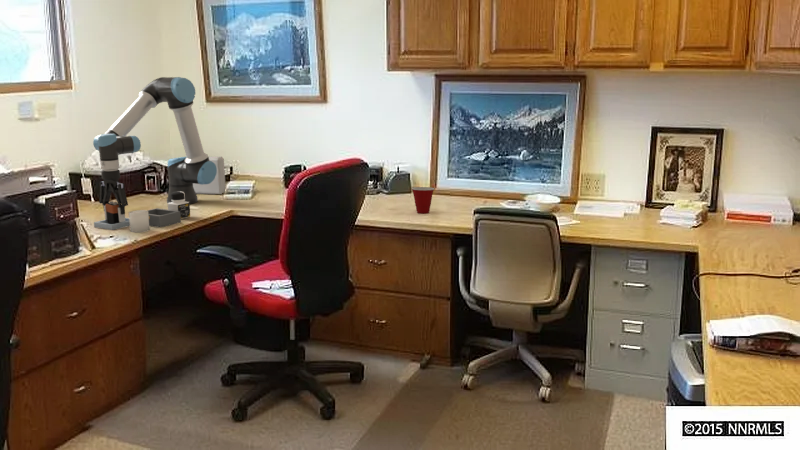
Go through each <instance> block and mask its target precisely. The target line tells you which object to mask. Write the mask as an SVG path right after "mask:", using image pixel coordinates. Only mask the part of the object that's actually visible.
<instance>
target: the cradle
mask: <svg viewBox="0 0 800 450" xmlns="http://www.w3.org/2000/svg"><path fill="white" fill-rule="evenodd" d="M146 211H148V215H149V226H150V227H154V228H163V227H168V226H172V225H175V224H179V223H182V219H181V214H180V211H174V210H168V208H167V209H165V208H159V207H158V208H157V207H156V208H152V209H149V210H148V209H147V210H146Z"/></svg>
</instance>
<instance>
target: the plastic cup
mask: <svg viewBox="0 0 800 450" xmlns="http://www.w3.org/2000/svg"><path fill="white" fill-rule="evenodd" d="M411 190H412V194H413V199H414V203H415V204H414V206H415V210H416V213H417V214H422V215H423V214H424V215H425V214H429V213H430V210H431V205H432V199H433V193H434V192H435V188H434V187H429V186H428V187H426V186H414V187H411Z"/></svg>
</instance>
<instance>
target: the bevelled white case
mask: <svg viewBox="0 0 800 450" xmlns="http://www.w3.org/2000/svg"><path fill="white" fill-rule="evenodd" d="M208 157H209V161H212V162H213V163H215V165H216V168H217V173H216V176H215V179H214V180H213V181H212V182H211V183H210V184H203V185H201V184H195V183H193V188H194V190H195V193H196V195H215V194H221V195H223V194H222V193H224V192H225V189H226V188H227V187H226V172H225V160H224V158H223V156H215V155H214V156H210V155H208ZM226 190H227V189H226ZM225 193H226V192H225ZM225 193H224V194H225Z"/></svg>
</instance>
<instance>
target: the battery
mask: <svg viewBox="0 0 800 450" xmlns="http://www.w3.org/2000/svg"><path fill="white" fill-rule="evenodd" d="M118 207H119V205H118V202H117V201H109V203H108V204H106V212H107V221H108V224H116V223H121V222H119V215H118Z"/></svg>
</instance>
